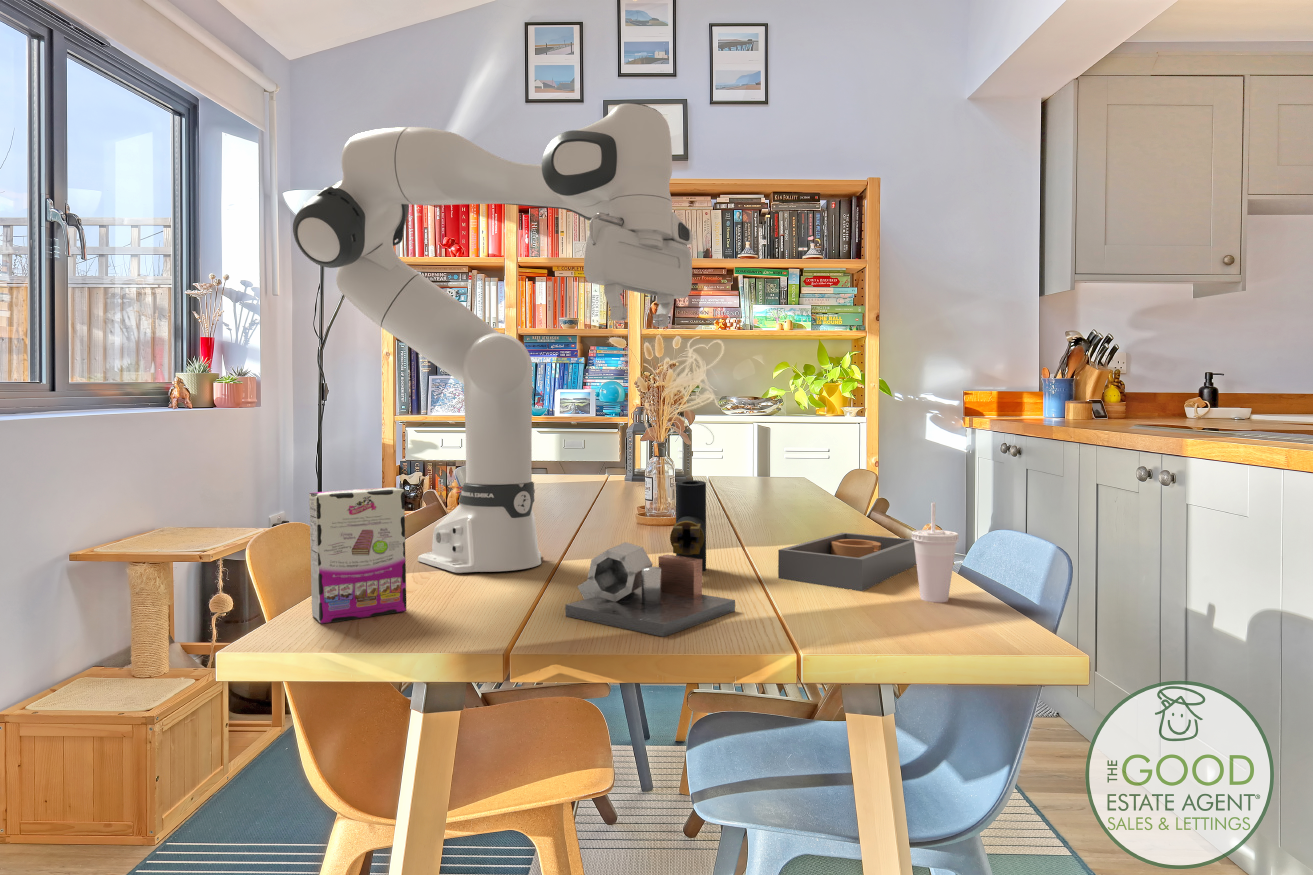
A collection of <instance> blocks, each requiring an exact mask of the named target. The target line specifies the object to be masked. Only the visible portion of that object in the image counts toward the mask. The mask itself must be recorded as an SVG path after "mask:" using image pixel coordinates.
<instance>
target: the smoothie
mask: <svg viewBox="0 0 1313 875" xmlns="http://www.w3.org/2000/svg"><path fill="white" fill-rule="evenodd" d="M930 505H931V513H930V515H931V520H930V523H931V524H930V526H931V527H930V529H917V530H913V531H912V532H911V539H913V540H914V546H915V555H916V564H917V565H916V571H917V581H918V589H919V596H920V600H922V601H924V602H928V603H945V602H948V601H949V596H950V590H951V582H952V577H953V576H952V575H953V568H954V563H955V562H954V560H955V554H956V548H957V543H958V542H960V539H959V533H958V532H955V531H949V530H942V529H936V502H931V504H930Z"/></svg>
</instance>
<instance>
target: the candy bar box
mask: <svg viewBox="0 0 1313 875" xmlns="http://www.w3.org/2000/svg"><path fill="white" fill-rule="evenodd" d="M308 494H309V495H308V496H309V497H308V498H309V500H308V502H309V503H308V504H309V532H310V533H309V535H310V538H309V540H310V541H309V543H310V545H309V546H310V576H311V577H310V579H311V582H310V583H311V585H310V586H311V590H310V591H311V615H312V617H313V619H315V620H316V621H317V622H318V623H319V624H329V623H336V622H343V621H351V620H358V619H363V618H370V617H376V616H377V617H378V616H383V615H390V614H398V613H402V612H405V611H407V570H406V568H407V565H406V561H407V560H406V557H407V556H406V521H405V519H406V518H405V517H406V516H405V513H406V512H405V489H402V488H398V487H396V486H393V487H376V488H361V489H359V488H358V489H344V490H343V489H342V490H331V491H328V490H327V491H317V492H316V491H315V492H309V493H308Z"/></svg>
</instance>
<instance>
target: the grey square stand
mask: <svg viewBox="0 0 1313 875" xmlns="http://www.w3.org/2000/svg"><path fill="white" fill-rule="evenodd" d="M564 608H565V612H564V613H565V617H566V618H567V617H568V618H573V619H578V620H582V621H587V622H591V623H596V624H601V625H605V626H610V627H615V628H620V629H623V630H624V629H625V630H630V631H633V632H638V633H644V634H648V635H654V636H658V637H662V638H665V637H667V636H669V635H673V634H675V633H678V632H681V631H684V630H686V629H689V628H692V627H695V626H697V625H700V624H703V623H706V622H709V621H711V620H714V619H717V618H719V617H722V616H725V615H728V614H732V613H733V612H735V611H736V599H733V598H732V599H731V598H725V597H719V596H713V595H708V594H703V572H702V559H697V558H689V557H682V556H676V555H675V554H674V555H673V554H664V555H659V556H658V566H652V567H643V568H642V586H641V587H640V588H638V589H636V590H635V591H633V592H631V593H629V594H628V595H626V596H624V597H623V598H621V599H619V600H618V601H616V602H614V601H611V600H608V599H605V598H602V597H599V596H596V597H593V598H589V599H585V600H584V599H581V600H578V601H574V602H570V603H566V604H565V607H564Z"/></svg>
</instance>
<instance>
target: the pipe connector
mask: <svg viewBox="0 0 1313 875" xmlns="http://www.w3.org/2000/svg"><path fill="white" fill-rule="evenodd" d="M669 535H670V536H669V541H670V545H671V546H672V553H673V554H675V556H682V557H689V558H697V559H702V573H704V572H706V571H707V482H705V481H704V480H703V481H702V480H698V479H697V480H696V479H691V480H690V479H687V480H685V479H684V480H679V481H676V482H675V523H674V525H673V527H672V530H671V532H670V534H669Z"/></svg>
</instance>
